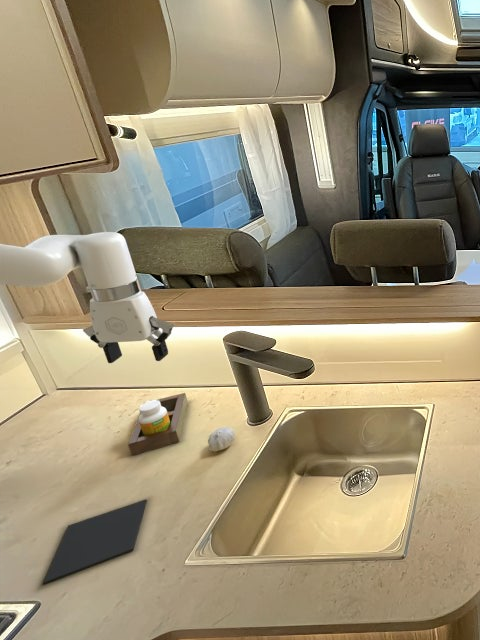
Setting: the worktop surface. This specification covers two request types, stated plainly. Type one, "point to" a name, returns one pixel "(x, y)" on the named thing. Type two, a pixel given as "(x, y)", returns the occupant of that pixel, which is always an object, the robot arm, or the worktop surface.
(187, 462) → the worktop surface
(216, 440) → the garlic
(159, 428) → the supplement bottle
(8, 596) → the worktop surface
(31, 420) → the worktop surface
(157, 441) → the stand
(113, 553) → the mat
